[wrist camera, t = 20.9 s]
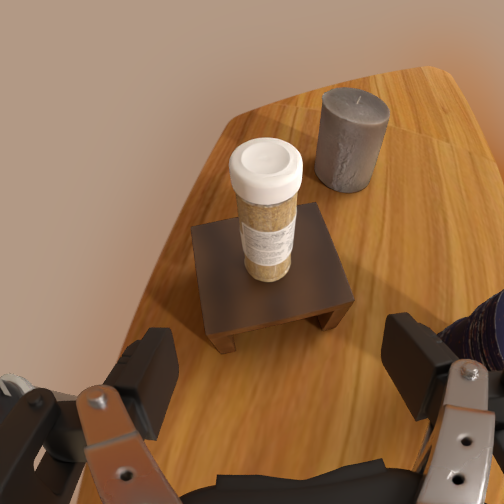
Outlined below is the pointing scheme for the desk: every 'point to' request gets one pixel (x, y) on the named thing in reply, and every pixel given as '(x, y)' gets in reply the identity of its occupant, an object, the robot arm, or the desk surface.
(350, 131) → the pillar candle
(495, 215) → the desk surface
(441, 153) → the desk surface
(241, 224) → the sprinkles bottle
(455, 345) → the navy ridged cylinder
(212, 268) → the shelf
